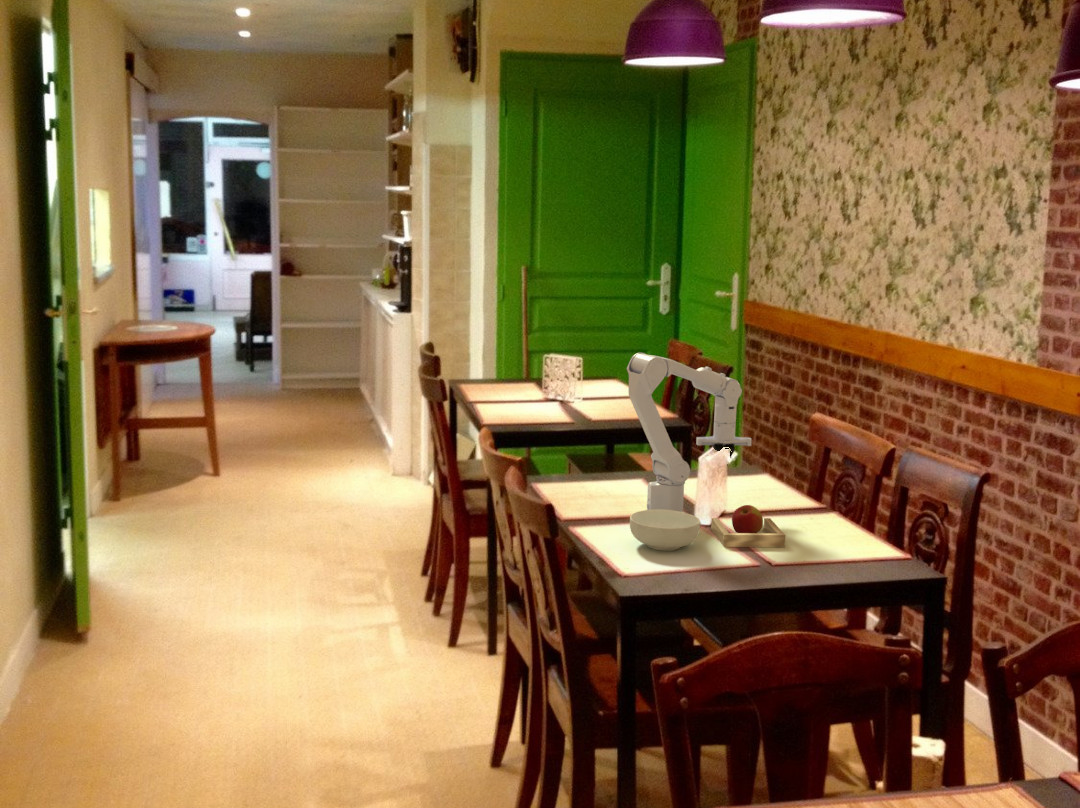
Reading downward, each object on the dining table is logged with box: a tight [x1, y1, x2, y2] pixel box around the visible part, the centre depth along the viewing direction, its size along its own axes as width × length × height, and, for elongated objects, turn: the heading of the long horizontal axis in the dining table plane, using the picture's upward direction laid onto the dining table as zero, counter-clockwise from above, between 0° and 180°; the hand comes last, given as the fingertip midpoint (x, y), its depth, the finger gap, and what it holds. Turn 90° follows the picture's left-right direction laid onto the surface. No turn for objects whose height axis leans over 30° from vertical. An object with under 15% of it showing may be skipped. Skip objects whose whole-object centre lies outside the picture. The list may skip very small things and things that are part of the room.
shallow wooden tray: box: [710, 517, 786, 548], centre depth 315 cm, size 15×16×3 cm
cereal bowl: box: [629, 509, 701, 552], centre depth 306 cm, size 17×17×7 cm
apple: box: [731, 504, 764, 533], centre depth 316 cm, size 8×8×8 cm
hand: (722, 471), depth 341 cm, fingers closed
